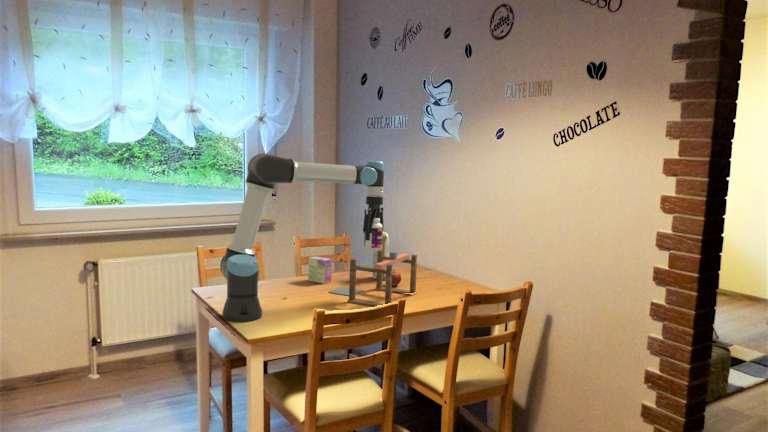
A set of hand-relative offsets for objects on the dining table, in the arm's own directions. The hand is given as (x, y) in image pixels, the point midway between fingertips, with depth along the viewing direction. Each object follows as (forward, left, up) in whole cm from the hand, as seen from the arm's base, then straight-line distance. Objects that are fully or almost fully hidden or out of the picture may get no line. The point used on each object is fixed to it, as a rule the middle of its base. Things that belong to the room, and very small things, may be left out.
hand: (372, 246), depth 261 cm
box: (+10, +34, -23) cm, 43 cm away
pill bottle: (0, 0, -2) cm, 2 cm away
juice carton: (+33, +12, -23) cm, 42 cm away
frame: (0, -6, -23) cm, 24 cm away
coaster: (0, +13, -23) cm, 27 cm away
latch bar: (0, -10, -7) cm, 12 cm away
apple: (+23, 0, -23) cm, 33 cm away
